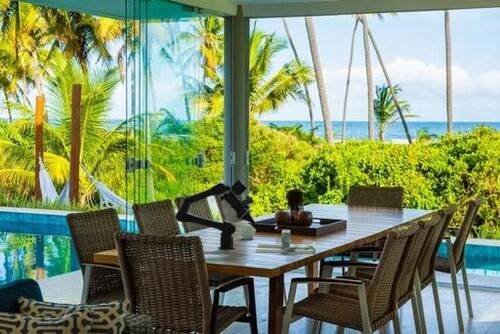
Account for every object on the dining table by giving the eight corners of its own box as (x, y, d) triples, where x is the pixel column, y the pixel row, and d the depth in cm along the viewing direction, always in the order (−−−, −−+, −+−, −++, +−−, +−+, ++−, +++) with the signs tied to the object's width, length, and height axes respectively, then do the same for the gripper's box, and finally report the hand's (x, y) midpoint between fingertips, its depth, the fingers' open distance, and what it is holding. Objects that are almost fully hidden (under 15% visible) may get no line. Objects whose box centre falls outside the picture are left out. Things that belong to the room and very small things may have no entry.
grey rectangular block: (281, 251, 450) (281, 232, 449) (282, 248, 459) (282, 229, 459) (308, 252, 448) (309, 233, 448) (309, 249, 458) (309, 230, 458)
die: (250, 238, 499) (240, 224, 499) (261, 232, 494) (250, 217, 493) (244, 245, 492) (233, 231, 492) (254, 239, 487) (244, 224, 486)
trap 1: (282, 254, 439) (282, 254, 439) (283, 252, 445) (283, 252, 445) (294, 254, 438) (294, 254, 438) (295, 253, 444) (295, 252, 444)
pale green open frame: (255, 252, 446) (256, 246, 446) (258, 246, 464) (258, 241, 464) (315, 253, 444) (315, 247, 444) (315, 248, 462) (315, 242, 462)
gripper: (243, 192, 444) (264, 215, 444) (246, 189, 463) (266, 210, 463) (227, 207, 446) (248, 229, 445) (231, 203, 464) (251, 224, 464)
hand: (254, 223), depth 454 cm, fingers closed
